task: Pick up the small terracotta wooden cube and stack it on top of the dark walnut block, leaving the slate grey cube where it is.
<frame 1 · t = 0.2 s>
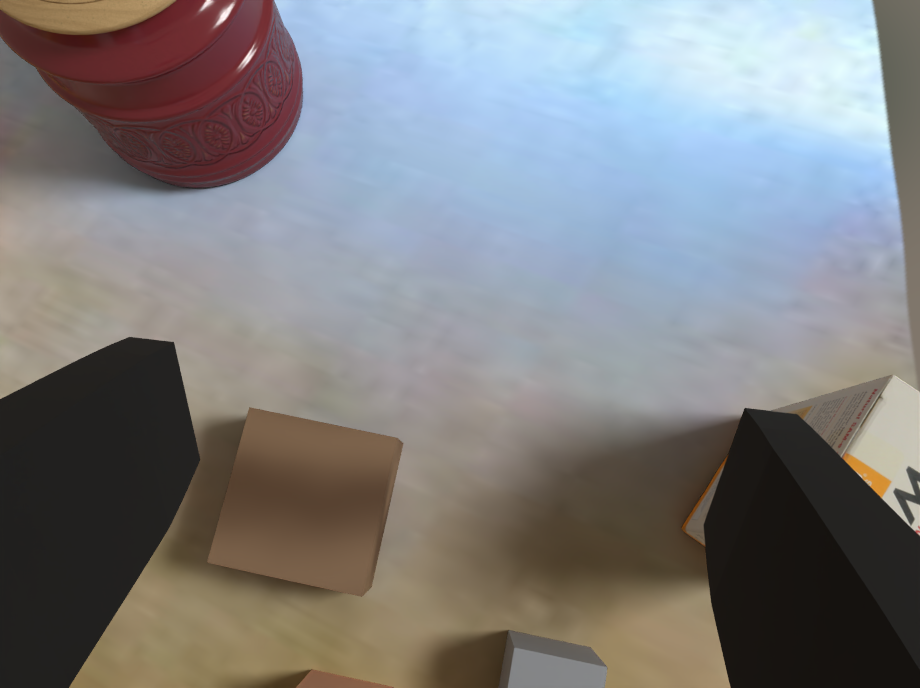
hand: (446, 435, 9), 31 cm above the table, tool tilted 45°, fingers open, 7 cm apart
slate grey cube: (542, 682, 37), on the table
walnut block: (319, 498, 39), on the table
supplement box: (751, 494, 39), on the table
canister: (208, 102, 44), on the table
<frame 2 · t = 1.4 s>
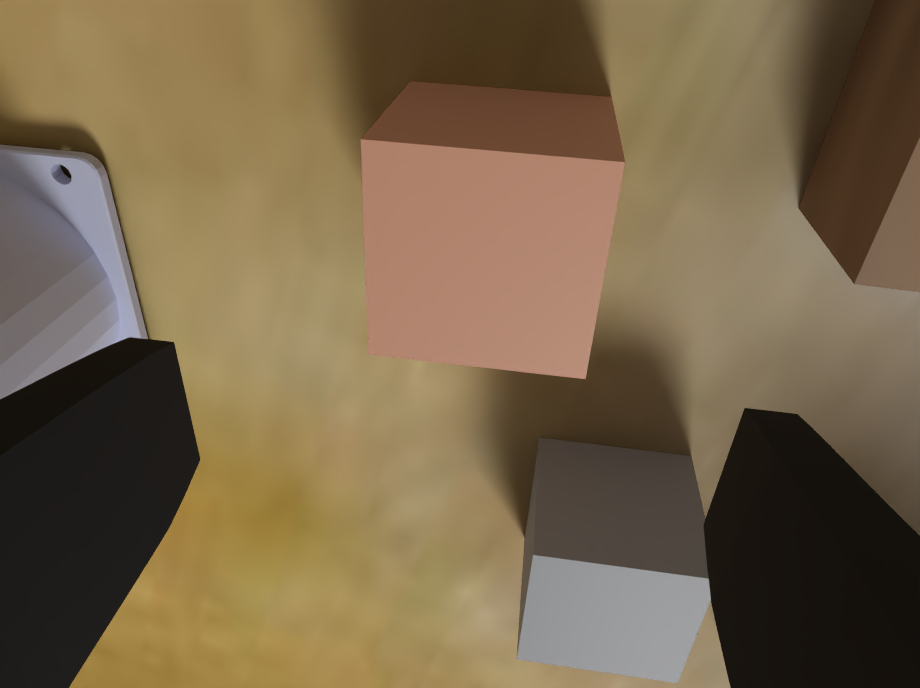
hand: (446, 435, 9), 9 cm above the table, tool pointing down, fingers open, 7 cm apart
slate grey cube: (602, 497, 22), on the table
terracotta cube: (501, 184, 17), on the table
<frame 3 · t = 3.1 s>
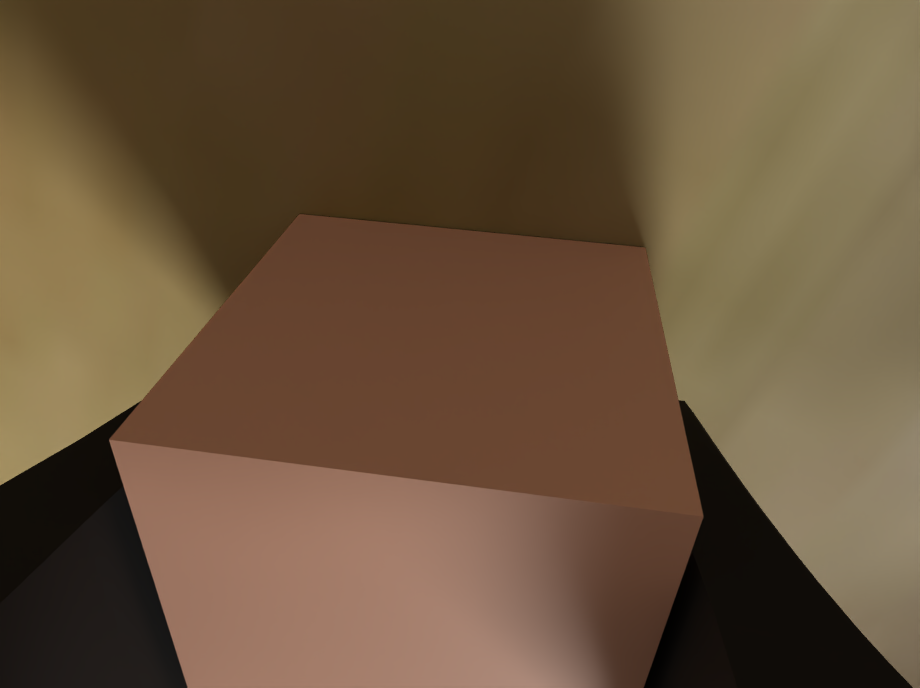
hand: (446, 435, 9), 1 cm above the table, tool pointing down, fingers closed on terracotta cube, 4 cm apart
terracotta cube: (460, 371, 10), on the table, touching gripper
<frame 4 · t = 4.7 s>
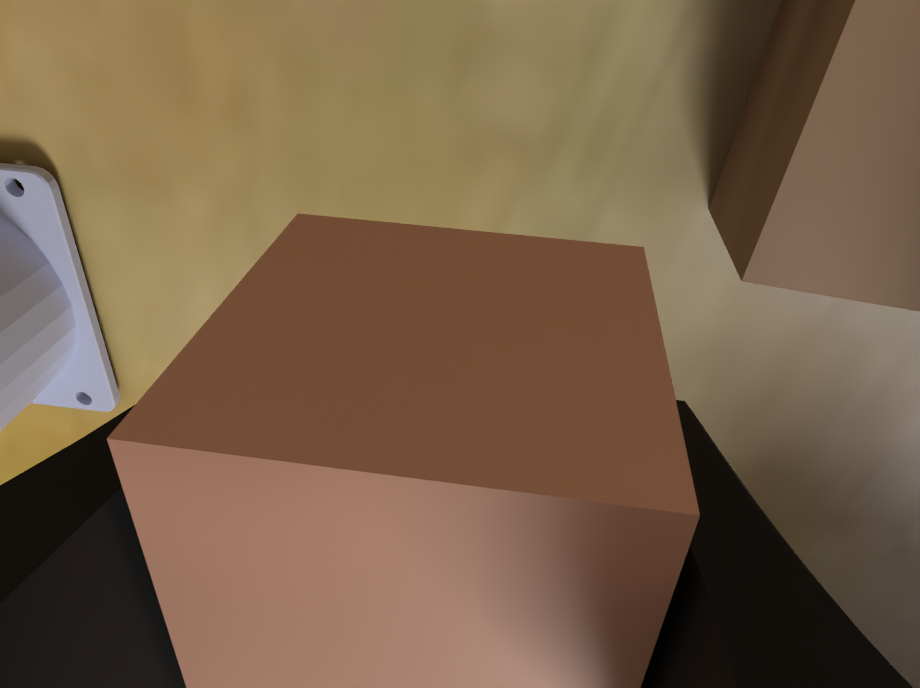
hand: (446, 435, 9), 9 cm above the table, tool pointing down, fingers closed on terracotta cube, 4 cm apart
terracotta cube: (459, 371, 10), point 8 cm above the table, touching gripper
when the fingers open (7 cm above the table, at t = 6.2 s): terracotta cube drops 2 cm, point 4 cm above the table.
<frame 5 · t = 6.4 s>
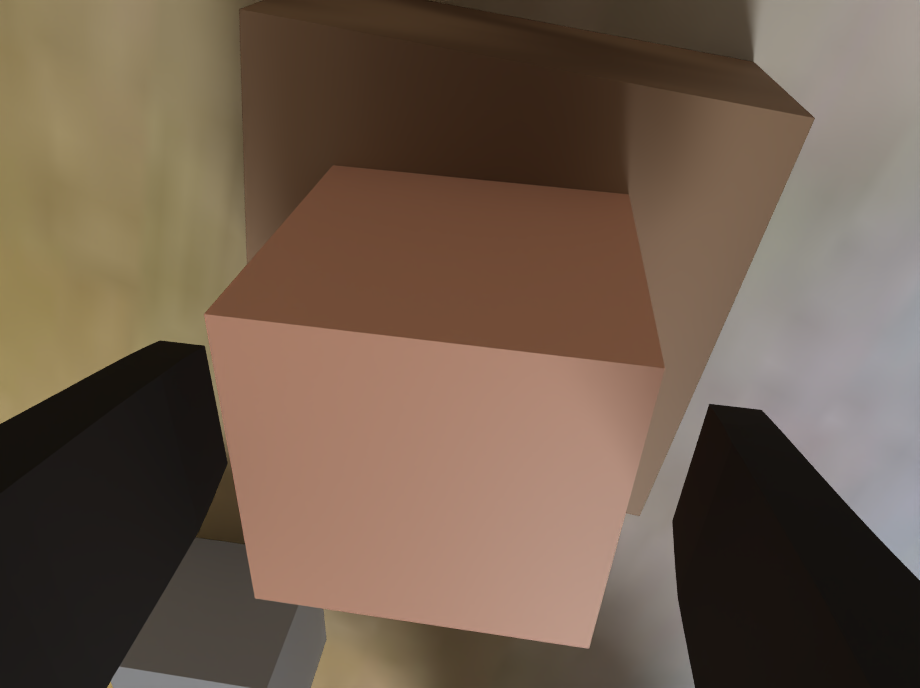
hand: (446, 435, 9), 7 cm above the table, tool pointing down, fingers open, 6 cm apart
slate grey cube: (258, 587, 23), on the table
walnut block: (496, 216, 15), on the table
terracotta cube: (469, 307, 12), point 4 cm above the table
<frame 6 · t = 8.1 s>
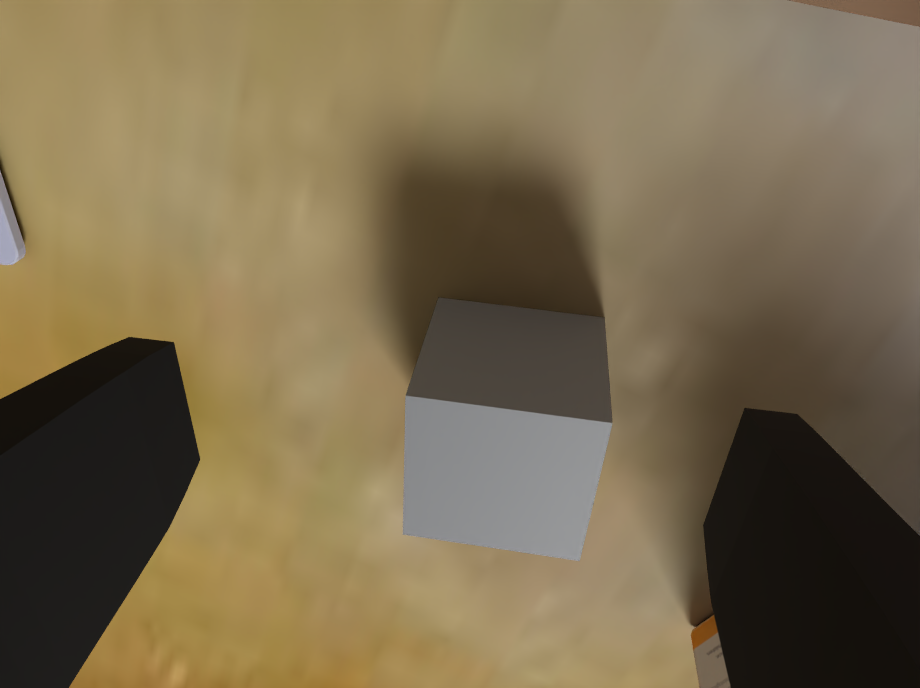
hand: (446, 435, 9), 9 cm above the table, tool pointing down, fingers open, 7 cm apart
slate grey cube: (512, 372, 20), on the table
supplement box: (819, 639, 24), on the table
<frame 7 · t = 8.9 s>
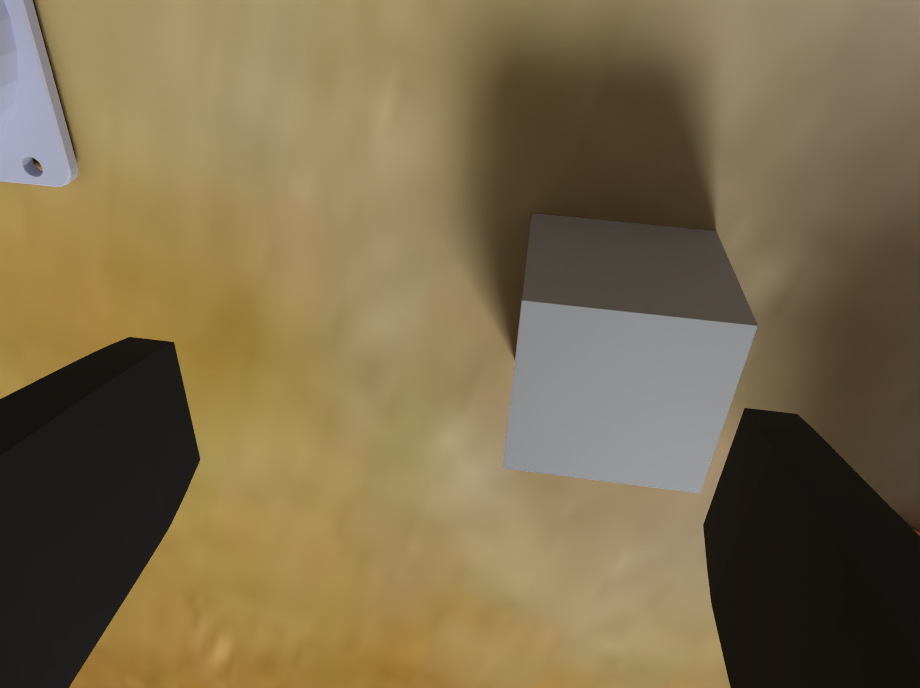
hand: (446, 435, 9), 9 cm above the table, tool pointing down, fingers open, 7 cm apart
slate grey cube: (607, 299, 18), on the table
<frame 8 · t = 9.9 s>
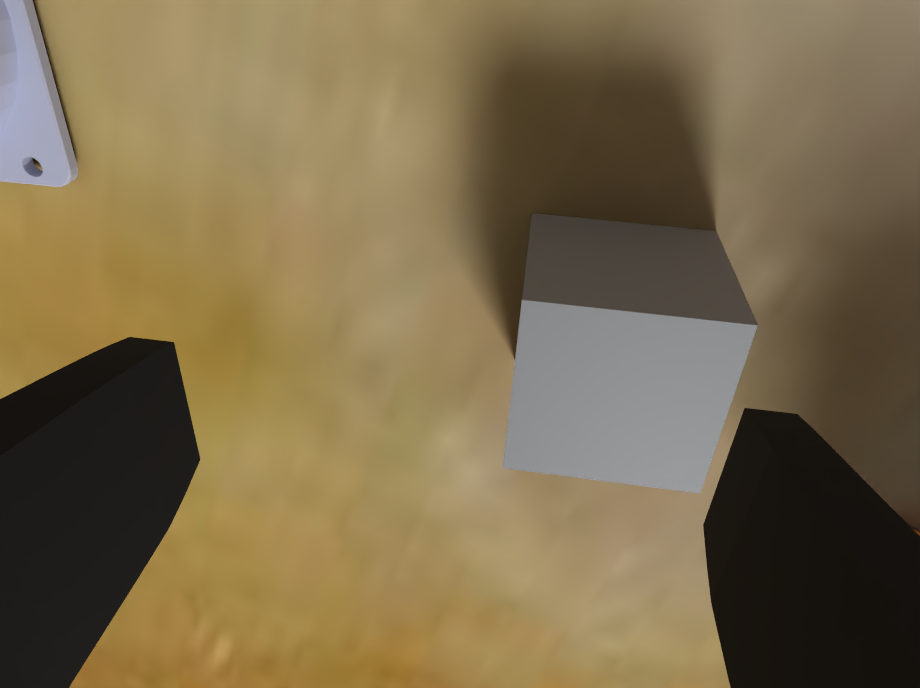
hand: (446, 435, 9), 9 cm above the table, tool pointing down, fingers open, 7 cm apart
slate grey cube: (607, 299, 18), on the table
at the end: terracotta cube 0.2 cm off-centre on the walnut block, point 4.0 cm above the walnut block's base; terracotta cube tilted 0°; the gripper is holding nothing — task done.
